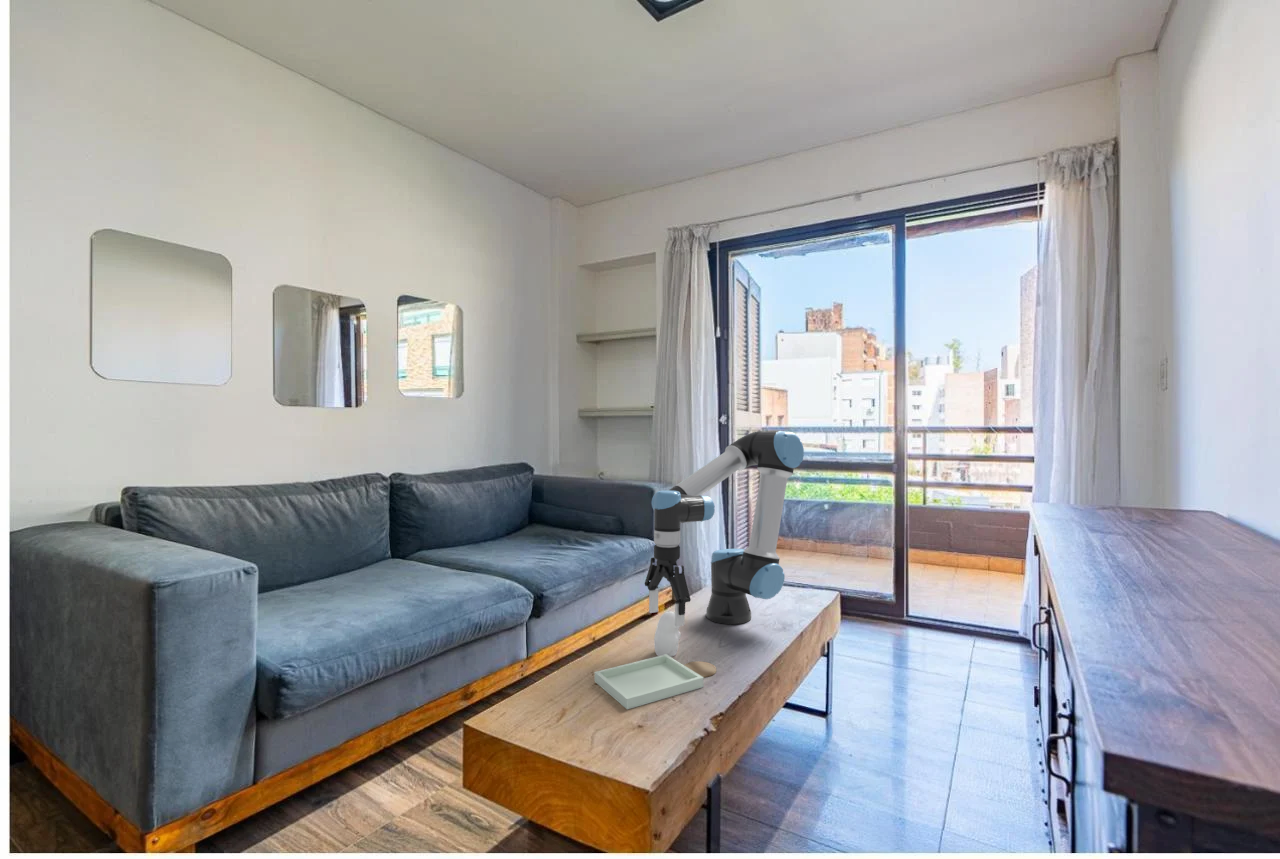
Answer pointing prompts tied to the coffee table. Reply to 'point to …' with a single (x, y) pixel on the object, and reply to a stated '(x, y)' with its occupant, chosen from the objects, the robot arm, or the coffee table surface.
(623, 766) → the coffee table surface
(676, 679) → the tray
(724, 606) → the robot arm
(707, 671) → the metal coaster
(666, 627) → the figurine
